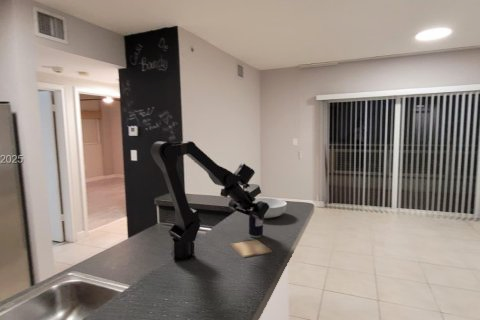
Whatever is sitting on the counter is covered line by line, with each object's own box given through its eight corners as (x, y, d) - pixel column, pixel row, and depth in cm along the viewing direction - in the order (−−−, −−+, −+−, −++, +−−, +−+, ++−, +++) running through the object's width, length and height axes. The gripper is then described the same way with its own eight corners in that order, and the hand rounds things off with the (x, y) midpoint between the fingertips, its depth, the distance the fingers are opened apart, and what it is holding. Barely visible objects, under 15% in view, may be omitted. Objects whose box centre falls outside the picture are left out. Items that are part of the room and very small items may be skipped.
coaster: (243, 257, 98) (243, 255, 98) (230, 245, 108) (230, 244, 108) (271, 252, 103) (271, 250, 103) (256, 241, 113) (256, 239, 113)
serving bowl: (285, 210, 157) (285, 198, 156) (287, 223, 136) (288, 208, 135) (246, 209, 159) (246, 196, 158) (242, 221, 138) (243, 206, 137)
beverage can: (261, 233, 122) (262, 204, 120) (263, 238, 116) (264, 208, 115) (248, 233, 122) (248, 204, 120) (249, 238, 116) (249, 208, 115)
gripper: (266, 181, 107) (285, 206, 115) (234, 175, 121) (254, 197, 129) (249, 206, 103) (271, 230, 111) (218, 196, 117) (239, 218, 125)
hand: (258, 217), depth 119 cm, fingers closed on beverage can, 6 cm apart
